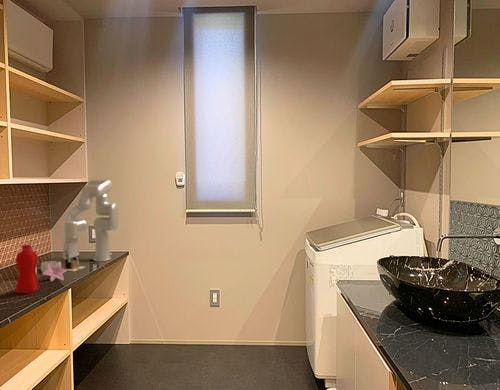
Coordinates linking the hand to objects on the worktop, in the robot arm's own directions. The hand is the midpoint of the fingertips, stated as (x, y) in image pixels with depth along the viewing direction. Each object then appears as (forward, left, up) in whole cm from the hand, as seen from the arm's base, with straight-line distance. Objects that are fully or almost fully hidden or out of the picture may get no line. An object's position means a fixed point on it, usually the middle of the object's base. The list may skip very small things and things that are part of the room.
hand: (71, 267), depth 260 cm
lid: (0, 0, -1) cm, 1 cm away
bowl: (+6, -12, -2) cm, 13 cm away
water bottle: (+48, +10, -3) cm, 49 cm away
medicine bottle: (+22, -14, -3) cm, 26 cm away
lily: (+23, +6, -3) cm, 24 cm away
